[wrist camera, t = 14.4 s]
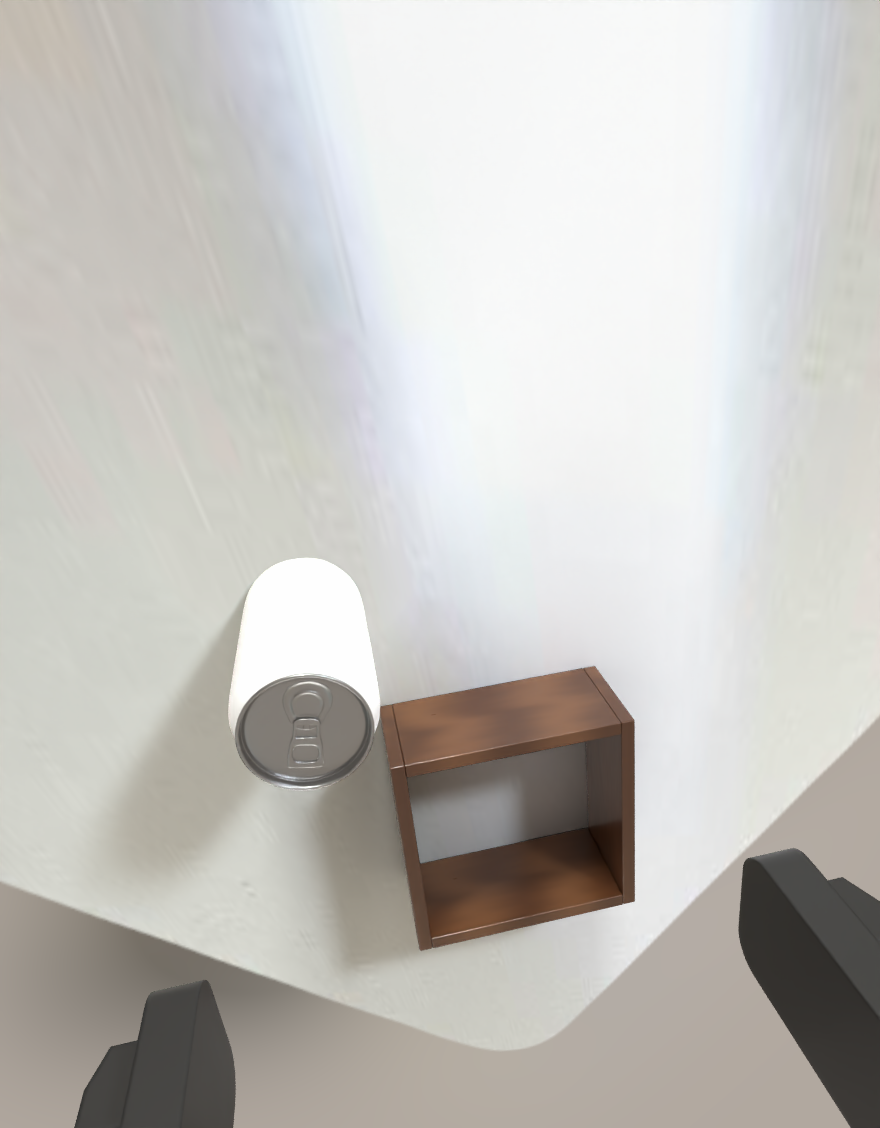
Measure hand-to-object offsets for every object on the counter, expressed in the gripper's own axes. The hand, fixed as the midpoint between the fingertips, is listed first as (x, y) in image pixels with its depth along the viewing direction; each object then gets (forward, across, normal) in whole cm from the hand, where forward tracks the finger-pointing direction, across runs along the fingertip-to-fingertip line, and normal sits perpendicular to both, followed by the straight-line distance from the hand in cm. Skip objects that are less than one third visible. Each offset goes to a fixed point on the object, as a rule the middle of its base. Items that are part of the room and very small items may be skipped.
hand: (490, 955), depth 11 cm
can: (+30, +4, +8) cm, 32 cm away
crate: (+30, -6, +22) cm, 38 cm away
